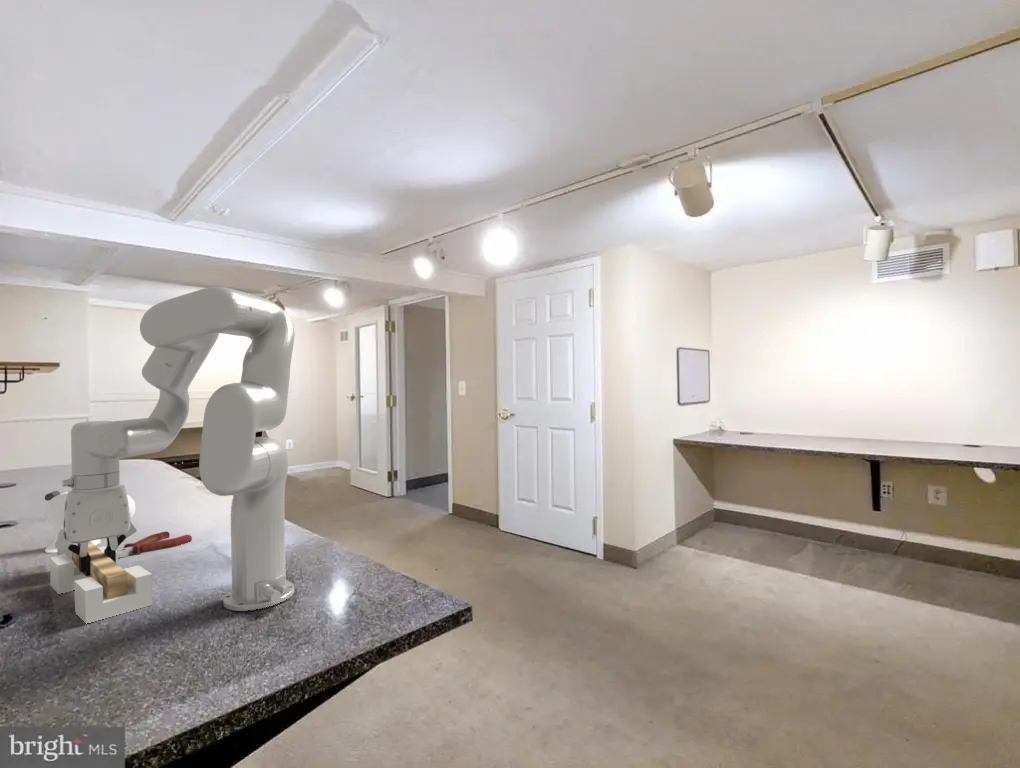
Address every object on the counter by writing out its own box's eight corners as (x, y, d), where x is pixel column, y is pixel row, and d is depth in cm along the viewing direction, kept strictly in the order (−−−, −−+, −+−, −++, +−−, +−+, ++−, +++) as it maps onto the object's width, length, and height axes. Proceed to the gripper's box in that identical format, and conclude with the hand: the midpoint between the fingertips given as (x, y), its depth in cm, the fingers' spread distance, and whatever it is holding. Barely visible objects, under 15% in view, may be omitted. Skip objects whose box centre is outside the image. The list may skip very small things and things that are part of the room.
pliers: (83, 562, 124) (83, 551, 124) (166, 538, 143) (166, 529, 143) (112, 568, 120) (111, 557, 120) (194, 543, 138) (193, 533, 138)
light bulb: (140, 529, 151) (139, 492, 151) (113, 535, 145) (112, 497, 145) (130, 526, 154) (129, 490, 154) (103, 532, 149) (102, 495, 149)
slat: (127, 594, 95) (127, 573, 95) (107, 599, 93) (107, 578, 93) (89, 557, 113) (89, 540, 113) (71, 561, 110) (71, 543, 110)
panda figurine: (110, 537, 143) (108, 484, 143) (93, 549, 133) (92, 492, 133) (57, 543, 139) (56, 488, 139) (35, 555, 129) (34, 497, 129)
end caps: (152, 604, 97) (151, 573, 97) (85, 624, 89) (85, 591, 89) (108, 571, 116) (107, 545, 116) (50, 585, 108) (49, 557, 108)
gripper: (46, 491, 94) (48, 589, 94) (149, 477, 107) (151, 564, 107) (38, 486, 99) (40, 580, 99) (138, 473, 111) (139, 557, 111)
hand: (97, 571), depth 103 cm, fingers closed on slat, 2 cm apart
